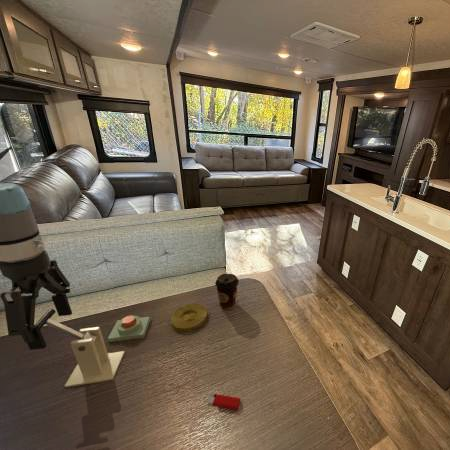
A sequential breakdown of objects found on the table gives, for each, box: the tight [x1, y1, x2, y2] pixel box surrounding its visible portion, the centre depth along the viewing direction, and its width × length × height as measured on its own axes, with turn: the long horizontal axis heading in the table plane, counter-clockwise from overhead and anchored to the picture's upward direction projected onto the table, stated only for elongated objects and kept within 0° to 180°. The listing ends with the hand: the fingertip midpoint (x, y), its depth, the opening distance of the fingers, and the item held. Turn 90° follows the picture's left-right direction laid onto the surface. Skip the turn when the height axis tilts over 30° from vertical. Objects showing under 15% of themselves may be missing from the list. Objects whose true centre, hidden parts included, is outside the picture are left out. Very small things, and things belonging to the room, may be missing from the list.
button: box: [121, 314, 135, 328], centre depth 82 cm, size 4×4×2 cm
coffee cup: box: [214, 273, 240, 310], centre depth 98 cm, size 9×8×13 cm
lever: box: [34, 308, 97, 342], centre depth 64 cm, size 13×6×2 cm
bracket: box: [64, 326, 126, 388], centre depth 68 cm, size 11×9×14 cm
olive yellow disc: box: [170, 303, 208, 333], centre depth 90 cm, size 12×12×2 cm
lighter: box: [207, 393, 241, 411], centre depth 66 cm, size 3×1×8 cm
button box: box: [107, 315, 151, 343], centre depth 83 cm, size 10×8×4 cm
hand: (53, 329), depth 63 cm, fingers open, 10 cm apart
